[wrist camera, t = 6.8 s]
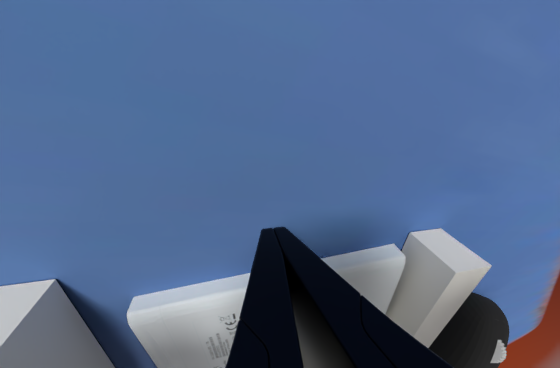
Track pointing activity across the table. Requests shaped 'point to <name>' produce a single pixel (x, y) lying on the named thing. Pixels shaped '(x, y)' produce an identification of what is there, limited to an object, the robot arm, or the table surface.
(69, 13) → the table surface
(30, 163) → the table surface
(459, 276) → the dock
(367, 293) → the external hard drive
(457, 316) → the computer mouse
